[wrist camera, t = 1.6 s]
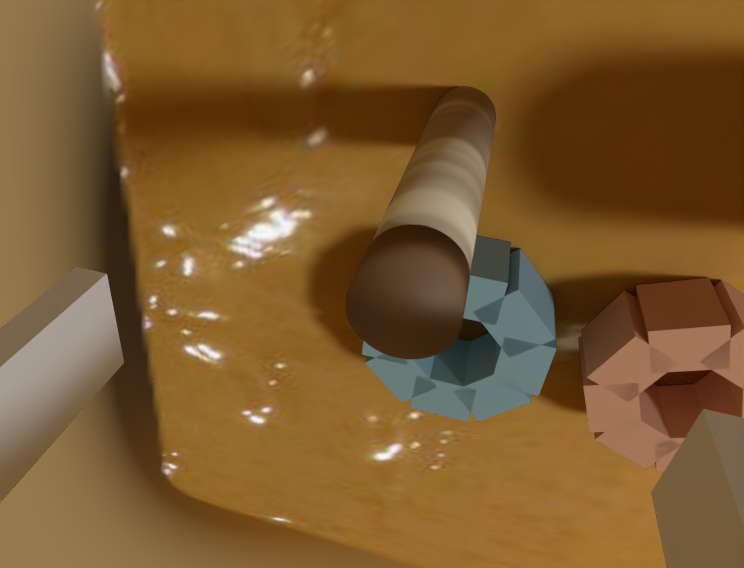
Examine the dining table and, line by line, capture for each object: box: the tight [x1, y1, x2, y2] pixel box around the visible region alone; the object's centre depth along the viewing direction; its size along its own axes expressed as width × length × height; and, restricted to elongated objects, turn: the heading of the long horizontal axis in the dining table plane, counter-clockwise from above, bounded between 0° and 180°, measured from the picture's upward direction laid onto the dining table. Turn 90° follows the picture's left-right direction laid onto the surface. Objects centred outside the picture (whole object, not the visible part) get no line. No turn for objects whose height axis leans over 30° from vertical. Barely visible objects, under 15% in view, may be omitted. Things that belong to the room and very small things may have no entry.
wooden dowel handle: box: [346, 87, 496, 359], centre depth 21 cm, size 3×3×16 cm
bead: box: [362, 236, 557, 422], centre depth 32 cm, size 10×10×4 cm
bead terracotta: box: [578, 278, 744, 472], centre depth 30 cm, size 10×10×4 cm
